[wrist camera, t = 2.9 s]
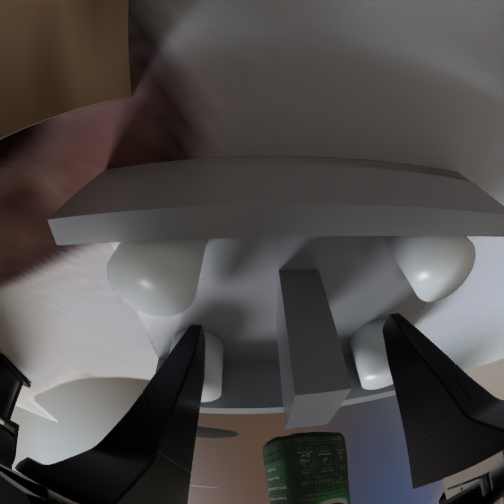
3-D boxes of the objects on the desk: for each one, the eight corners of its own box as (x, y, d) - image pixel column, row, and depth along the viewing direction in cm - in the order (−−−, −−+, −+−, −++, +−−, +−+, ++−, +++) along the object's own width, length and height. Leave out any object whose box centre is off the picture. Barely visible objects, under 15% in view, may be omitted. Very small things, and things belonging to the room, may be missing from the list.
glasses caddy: (391, 338, 15) (420, 423, 10) (166, 349, 15) (148, 445, 10) (454, 170, 9) (555, 254, 4) (107, 167, 9) (-1, 272, 4)
